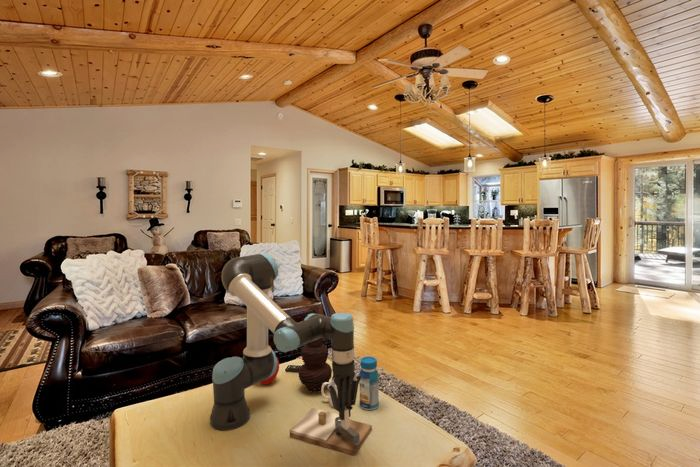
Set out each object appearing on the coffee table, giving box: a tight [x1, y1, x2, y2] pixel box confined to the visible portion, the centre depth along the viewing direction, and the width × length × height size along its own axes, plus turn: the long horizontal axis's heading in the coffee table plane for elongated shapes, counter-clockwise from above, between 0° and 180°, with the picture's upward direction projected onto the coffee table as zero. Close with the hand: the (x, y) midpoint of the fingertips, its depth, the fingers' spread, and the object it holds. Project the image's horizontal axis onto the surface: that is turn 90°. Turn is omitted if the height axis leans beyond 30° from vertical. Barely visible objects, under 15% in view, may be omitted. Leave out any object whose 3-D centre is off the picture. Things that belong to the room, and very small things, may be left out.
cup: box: [320, 377, 338, 408], centre depth 161 cm, size 8×12×10 cm
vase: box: [297, 338, 333, 393], centre depth 173 cm, size 15×15×30 cm
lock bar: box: [335, 417, 360, 445], centre depth 135 cm, size 12×3×5 cm, turn 35°
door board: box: [289, 407, 373, 456], centre depth 141 cm, size 26×16×7 cm, turn 65°
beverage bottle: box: [358, 356, 380, 411], centre depth 159 cm, size 8×8×20 cm
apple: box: [260, 355, 280, 385], centre depth 181 cm, size 12×12×13 cm
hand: (345, 426), depth 129 cm, fingers closed
